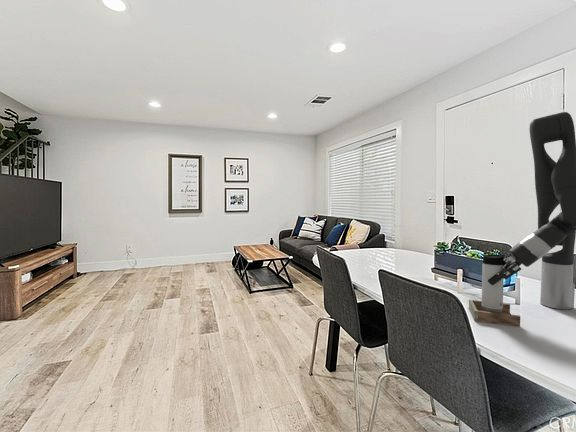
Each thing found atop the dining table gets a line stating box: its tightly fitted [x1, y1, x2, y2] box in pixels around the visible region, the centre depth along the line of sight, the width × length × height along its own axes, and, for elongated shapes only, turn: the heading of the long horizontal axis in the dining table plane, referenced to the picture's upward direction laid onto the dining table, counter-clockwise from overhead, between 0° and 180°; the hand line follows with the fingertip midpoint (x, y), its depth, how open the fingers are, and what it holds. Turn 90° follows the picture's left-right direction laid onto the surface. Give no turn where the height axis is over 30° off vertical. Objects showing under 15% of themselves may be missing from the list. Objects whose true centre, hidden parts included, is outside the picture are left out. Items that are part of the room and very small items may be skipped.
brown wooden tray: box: [468, 299, 521, 328], centre depth 107 cm, size 13×13×4 cm
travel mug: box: [481, 253, 506, 312], centre depth 106 cm, size 6×7×20 cm
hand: (487, 280), depth 107 cm, fingers closed on travel mug, 6 cm apart
